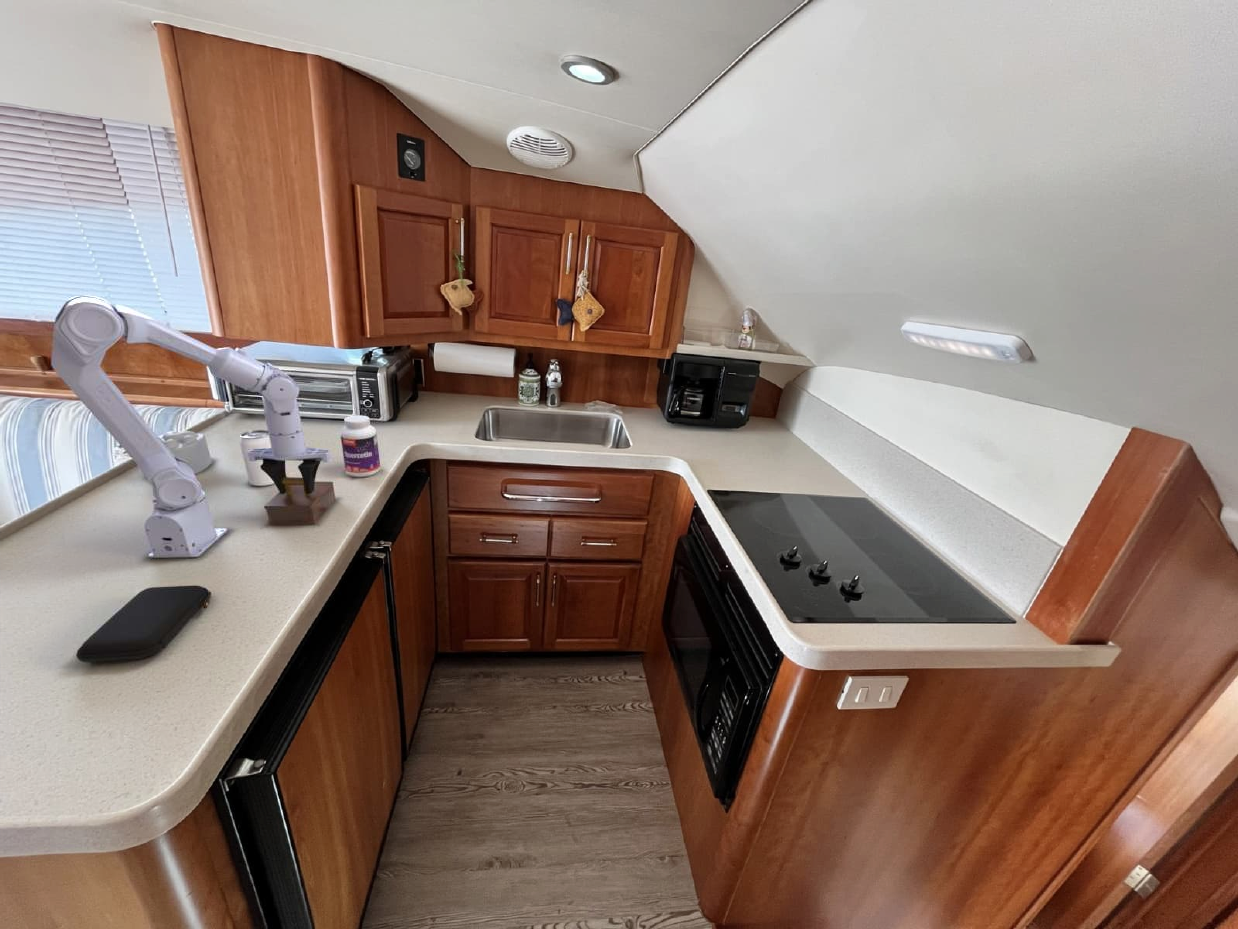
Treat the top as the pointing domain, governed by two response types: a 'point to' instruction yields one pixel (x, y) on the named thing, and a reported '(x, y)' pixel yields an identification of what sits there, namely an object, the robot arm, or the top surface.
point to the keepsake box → (302, 511)
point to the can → (253, 469)
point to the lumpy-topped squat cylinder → (188, 448)
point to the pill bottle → (360, 447)
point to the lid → (297, 494)
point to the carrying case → (144, 624)
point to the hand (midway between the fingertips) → (297, 491)
